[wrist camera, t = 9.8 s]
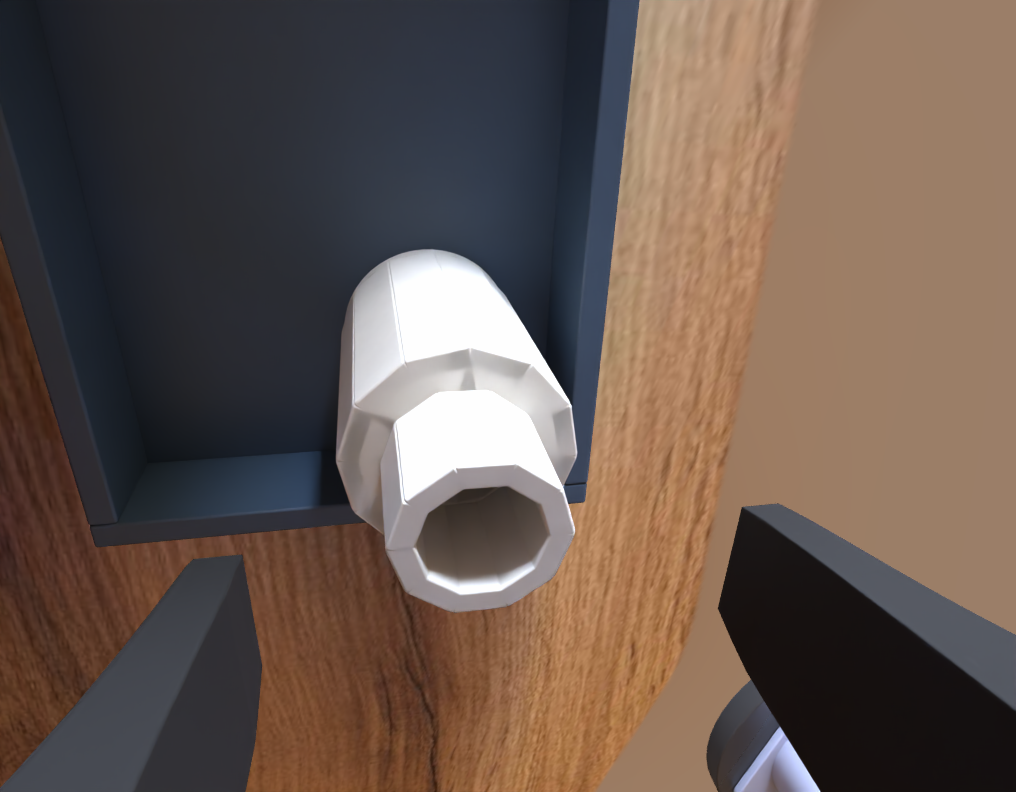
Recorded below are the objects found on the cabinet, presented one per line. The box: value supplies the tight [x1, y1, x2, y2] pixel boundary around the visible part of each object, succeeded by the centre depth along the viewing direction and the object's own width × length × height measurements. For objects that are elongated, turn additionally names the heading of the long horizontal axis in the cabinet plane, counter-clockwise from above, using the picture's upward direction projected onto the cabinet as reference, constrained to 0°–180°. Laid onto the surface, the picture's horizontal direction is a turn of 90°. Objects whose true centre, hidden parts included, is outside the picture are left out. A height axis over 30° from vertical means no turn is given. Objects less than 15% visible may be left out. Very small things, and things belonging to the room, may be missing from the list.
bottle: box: [336, 249, 577, 613], centre depth 13 cm, size 4×4×8 cm
